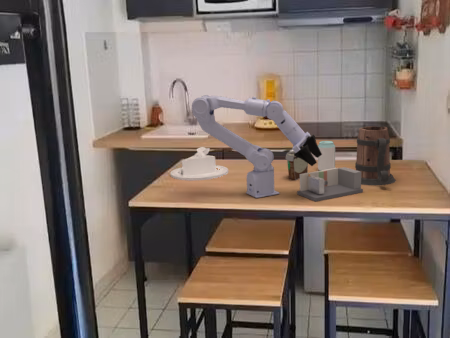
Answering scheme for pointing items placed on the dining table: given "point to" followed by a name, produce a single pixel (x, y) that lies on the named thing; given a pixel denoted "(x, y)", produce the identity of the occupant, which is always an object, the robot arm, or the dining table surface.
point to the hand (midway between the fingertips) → (317, 160)
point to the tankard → (374, 156)
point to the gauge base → (332, 183)
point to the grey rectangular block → (316, 184)
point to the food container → (295, 166)
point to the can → (326, 155)
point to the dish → (199, 167)
